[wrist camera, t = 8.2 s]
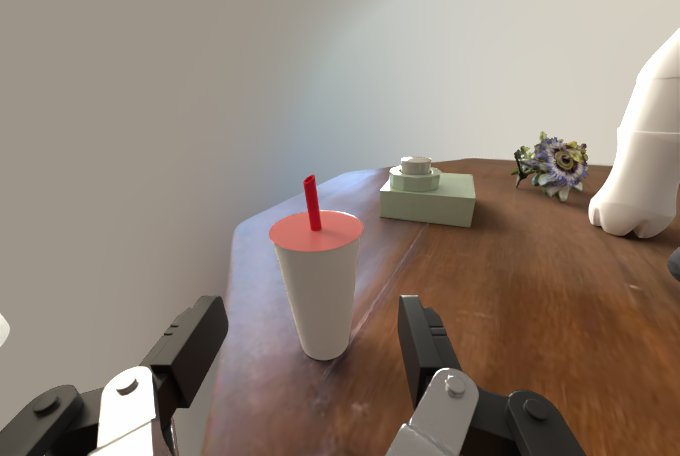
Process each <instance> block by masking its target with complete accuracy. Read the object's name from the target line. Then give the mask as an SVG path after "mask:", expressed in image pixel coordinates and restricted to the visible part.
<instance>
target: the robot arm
mask: <svg viewBox="0 0 680 456" xmlns="http://www.w3.org/2000/svg"><path fill="white" fill-rule="evenodd" d="M227 332H228V319H227V315H226V311H225V308H224V304H223V300H222V298H221V297H220V296H201V297H200V298H199V300H198V301H197V302H196V304H195V305H194V306H193V308H188V309H186V310H185V311H184V312H183V313H181V314H180V315H179V316H178V317H177V318H176V319H175V320H174V321H173V323H172V324H171V325H170V328H168V329H167V330H166V332H165V333H164V336H162V337H161V338H160V339H159V341H158V342H157V343H156V344H155V346H154V347H153V348H152V350H151V351H150V352H149V354H148V355H147V356H146V357H145V358H144V360H143V361H142V362H141V364H140V365H139V366H138V367H134V368H131V369H128V370H126V371H124V372H122V373H121V374H119V375H117V376H116V377H115V378H114V379H112V380H111V381H110V382H109V383H108V384H107V386H106V387H104V388H100V389H96V390H92V391H89V392H85V393H82V394H79V393H78V391H77V390H76V388H75V387H74V386H72V385H62V386H58V387H55V388H53V389H50V390H48V391H46V392H44V393H43V394H41V395H39V396H38V397H36V398H35V399H33V400H32V401H31V402H30V403H29V404H28V405H26V406H25V408H23V409H22V410H21V411H20V412H19V413H18V415H16V417H14V419H13V420H12V421H11V422H10V423H9V424H8V425H7V426H6V427H5V428H4V429H3V430H2V431H1V432H0V456H44V455H45V456H179V452H178V445H177V438H176V432H175V425H174V420H173V418H172V416H173V414H174V412H175V410H176V409H177V408H189V407H190V405H191V403H192V401H193V399H194V397H195V395H196V393H197V392H198V390H199V388H200V386H201V384H202V382H203V380H204V378H205V376H206V374H207V372H208V370H209V368H210V366H211V364H212V362H213V361H214V358H215V357H216V355H217V353H218V351H219V349H220V347H221V345H222V343H223V341H224V339H225V337H226V335H227ZM398 335H399V340H400V345H401V350H402V355H403V359H404V364H405V369H406V374H407V379H408V383H409V388H410V393H411V398H412V402H413V407H414V414H413V415H412V417H411V419H410V421H409V422H408V423H407V422H405V423H404V424H403V425H402V426H401V428H400V430H399V431H398V433H397V435H396V437H395V439H394V440H393V442H392V444H391V446H390V448H389V449H388V451H387V453H386V455H385V456H462V455H463V456H586V455H585V453H584V451H583V450H582V448H581V446H580V445H579V443H578V442H577V440H576V438H575V437H574V435H573V433H572V432H571V430H570V428H569V427H568V425H567V424H566V422H565V420H564V419H563V417H562V415H561V414H560V412H559V411H558V409H557V408H556V407H555V406H554V405H553V404H552V403H551V402H550V401H548V400H547V399H546V398H544V397H543V396H541V395H539V394H537V393H535V392H532V391H529V390H516V391H514V392H512V393H511V394H510V396H509V397H506V396H503V395H500V394H496V393H493V392H490V391H487V390H484V389H482V388H480V387H478V386H477V385H475V383H474V382H473V380H472V379H471V378H470V377H469V376H467V375H466V374H465V373H463V371H462V369H461V367H460V364H459V362H458V360H457V357H456V355H455V352H454V350H453V347H452V345H451V343H450V340H449V338H448V337H447V333H446V331H445V328H444V326H443V323H442V321H441V319H440V316H439V315H438V314H437V313H436V312H435V311H434V310H433V309H432V308H431V307H422V305H421V303H420V300H419V297H418V295H400V299H399V311H398Z"/></svg>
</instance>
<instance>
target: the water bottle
mask: <svg viewBox="0 0 680 456" xmlns="http://www.w3.org/2000/svg"><path fill="white" fill-rule="evenodd" d="M636 80H637V84H636V86H635V89H634V92H633V94H632V97H631V100H630V102H629V105H628V107H627V110H626V113H625V115H624V118H623V121H622V123H621V126H620V128H618V130H617V134H618V150H617V156H616V160H615V163H614V166H613V169H612V171H611V173H610V175H609V177H608V179H607V181H606V182H605V184H604V185H603V187H602V188H601V189H600V190H599V192H598V193H597V194H596V195H595V196H594V197H593V198H592V199H591V202H590V205H589V218H590V222H591V224H593V225H595V226H602V228H603V230H604V231H606V232H607V233H610V234H613V235H618V236H624V235H625V234H627V233H629V232H630V231H631V230H633V231H634V232H635V234H636V236H637V237H639V238H650V237H653V236H655V235H657V234H659V233H660V232H661V231H663V230H664V229H665V228H666V227H667V226H668V225H669V224H670V223H671V222H672V221H673V219H674V217H675V216H676V213H677V212H676V195H677V190H678V186H679V183H680V28H679V29H678V30H677V31H676V32H675V33H674V34H673V35H672V36H671V37H670V38H669V39H668V40H667V41H666V42H665V43H664V44H663V46H661V48H660V49H659V50H658V51H657V52H656V53H655V54H654V55H653V56H652V57H651V58H650V59H649V61H648V62H647V63H646V64H645V66H644V67H643V69H642V70H641V72H640V74H639V75H638V77H637V79H636Z"/></svg>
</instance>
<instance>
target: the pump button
mask: <svg viewBox="0 0 680 456" xmlns="http://www.w3.org/2000/svg"><path fill="white" fill-rule="evenodd" d="M430 166H431V159H429V158H425V157H406V158H403V159H402V160H401V173H403V174H408V175H427V174H430Z"/></svg>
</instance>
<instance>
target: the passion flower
mask: <svg viewBox="0 0 680 456" xmlns="http://www.w3.org/2000/svg"><path fill="white" fill-rule="evenodd" d="M546 135H547V134H545V133H544V132H541V133H540V142H539V144H537V145H535V146H534V148H535V151H534V152H533V153H529V154H528V155H527V154H526V151H528V150H529V149H530V148H528V147H524V146H522V147H521V151H520V150H517V152H515V153H514V155H515V159H516V162H517V165H518V168H517V169H515V170H514V171H513V172H512V174H511V175H515V174H518V179H517V184H516V188H517V187H518V185H519V182H520V181H521V180H522V179H525V178H527V176H528V175H529V174H532V173H535V172H536V173H538V174H537V175H535V176H534V178H533V179H532V184H533V185H534V186H542V190H543V193H544V195H545V196H547V197H548V198H549V199H550V198H551V197H552V195H553V196H554V197H555V198H556V200H558V201H560V202H565V201H566V200H567V198H568V193H569V190H570V189H571V188H572V189H575V190H577V191H579V192H580V191H582V190H583V189H582V183H581V179H582V178H585V177H584V176H586V175H588V174H587V173H586V171H587V170H588V168H589V166H588V165H587V163H586V161H587V160H588V156H587V155H586V154H585V153H586V150H585V148H586V144H582V145H581V146H578V145H577V142H570V143H568V144H567V143H566V144H565V143H564V144H563V143H562V142H563V140H562V139H560V140H558V141H557V138H556V137H554V139H553V138H551V139H549V138H547V136H546ZM576 145H577V146H576ZM522 154H524V157H523V158H521V157H520V156H521V155H522ZM518 159H519V160H520V161H519V160H518ZM519 162H520V164H523V165H522V166H520V164H519ZM530 168H531V169H530ZM529 169H530V170H529ZM527 170H528V171H527ZM532 170H534V171H532ZM525 171H527V172H525ZM585 179H587V178H585Z"/></svg>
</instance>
